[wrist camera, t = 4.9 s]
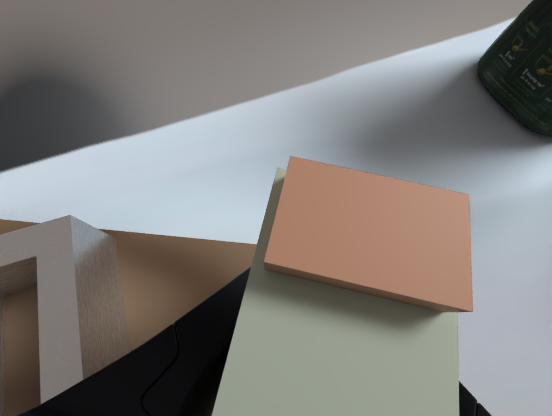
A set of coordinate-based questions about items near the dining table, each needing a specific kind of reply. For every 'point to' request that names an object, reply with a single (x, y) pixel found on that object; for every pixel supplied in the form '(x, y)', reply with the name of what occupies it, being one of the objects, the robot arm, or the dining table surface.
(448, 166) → the dining table surface
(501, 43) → the coffee jar
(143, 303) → the walnut board
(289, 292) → the keyed peg
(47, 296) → the keyed slot
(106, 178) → the dining table surface
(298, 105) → the dining table surface
